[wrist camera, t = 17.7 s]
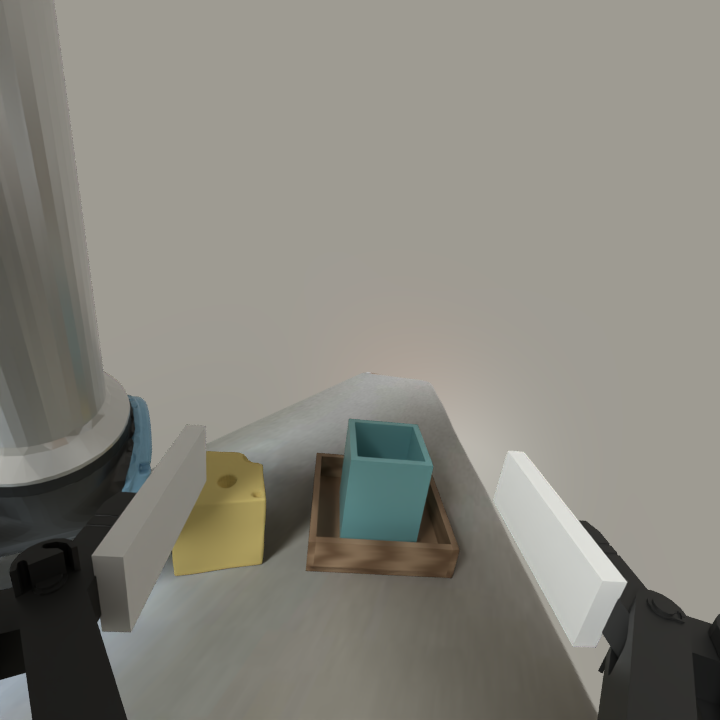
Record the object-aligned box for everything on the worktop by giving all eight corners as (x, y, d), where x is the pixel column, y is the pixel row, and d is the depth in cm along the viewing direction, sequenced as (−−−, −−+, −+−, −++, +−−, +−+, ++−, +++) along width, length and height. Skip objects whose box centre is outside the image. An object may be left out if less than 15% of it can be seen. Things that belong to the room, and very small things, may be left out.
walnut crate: (305, 570, 46) (308, 541, 45) (314, 476, 63) (316, 452, 62) (451, 578, 48) (459, 550, 47) (422, 484, 65) (427, 461, 63)
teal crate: (339, 541, 50) (351, 459, 46) (339, 490, 60) (348, 418, 55) (415, 545, 51) (433, 466, 47) (403, 495, 61) (417, 424, 56)
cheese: (261, 506, 56) (264, 446, 52) (265, 570, 46) (269, 501, 43) (182, 513, 52) (179, 450, 49) (168, 583, 43) (164, 510, 40)
